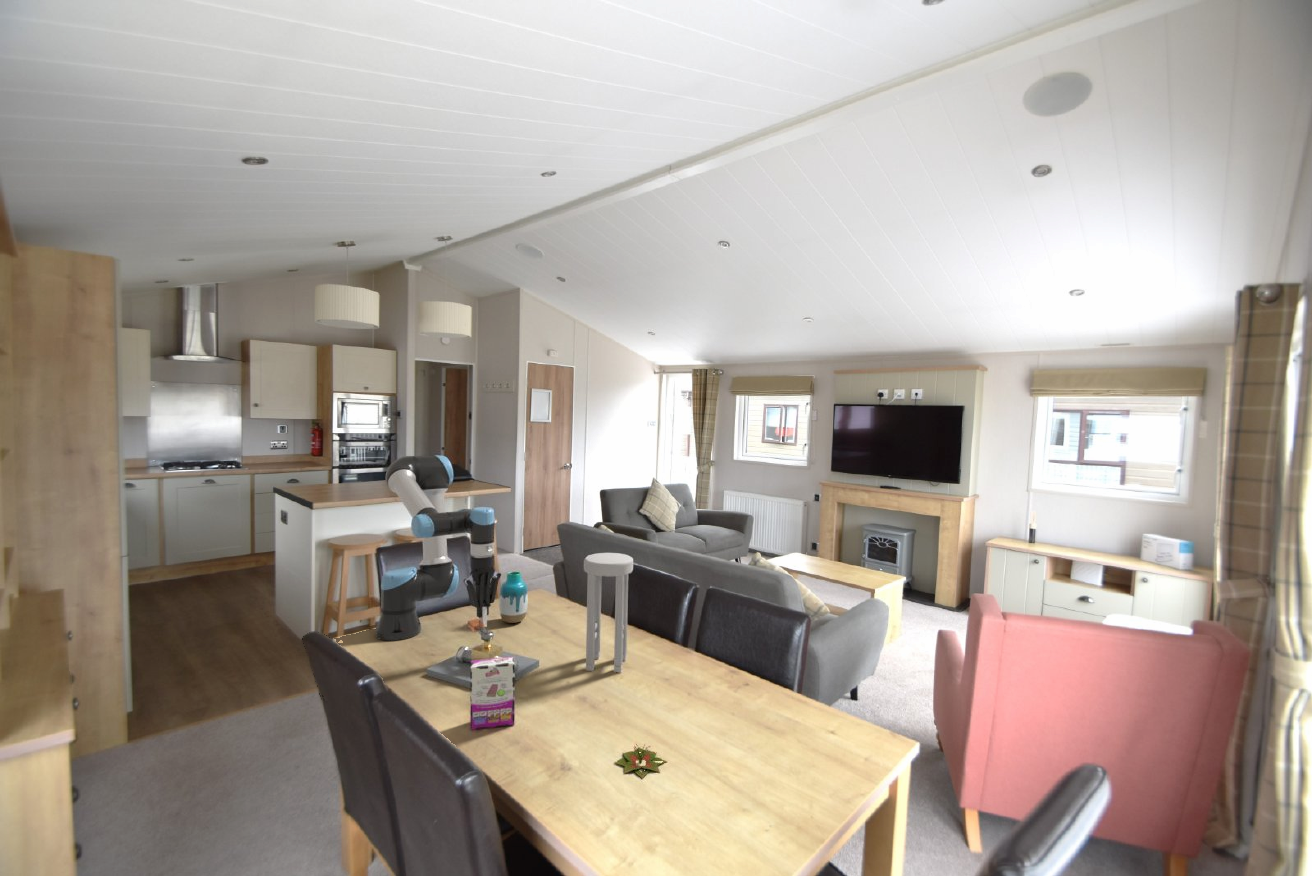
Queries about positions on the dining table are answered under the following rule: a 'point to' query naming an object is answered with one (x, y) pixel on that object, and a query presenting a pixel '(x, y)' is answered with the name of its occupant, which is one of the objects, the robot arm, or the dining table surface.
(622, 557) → the stool
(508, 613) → the vase
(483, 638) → the valve lever
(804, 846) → the dining table surface
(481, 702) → the candy bar box
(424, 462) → the robot arm
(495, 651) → the valve pipe
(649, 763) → the lily flower
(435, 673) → the valve board
